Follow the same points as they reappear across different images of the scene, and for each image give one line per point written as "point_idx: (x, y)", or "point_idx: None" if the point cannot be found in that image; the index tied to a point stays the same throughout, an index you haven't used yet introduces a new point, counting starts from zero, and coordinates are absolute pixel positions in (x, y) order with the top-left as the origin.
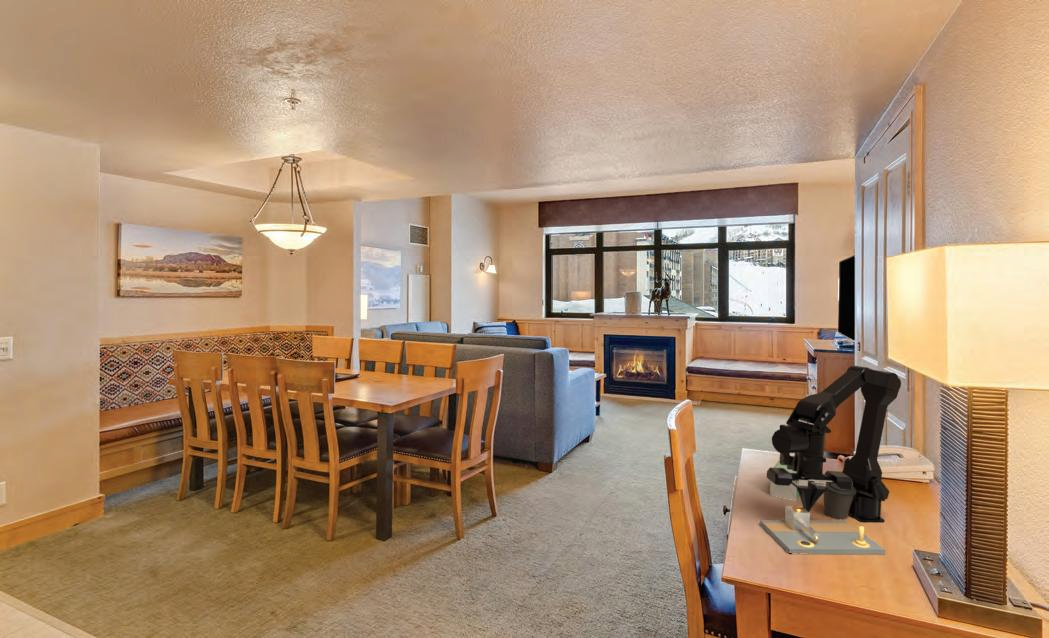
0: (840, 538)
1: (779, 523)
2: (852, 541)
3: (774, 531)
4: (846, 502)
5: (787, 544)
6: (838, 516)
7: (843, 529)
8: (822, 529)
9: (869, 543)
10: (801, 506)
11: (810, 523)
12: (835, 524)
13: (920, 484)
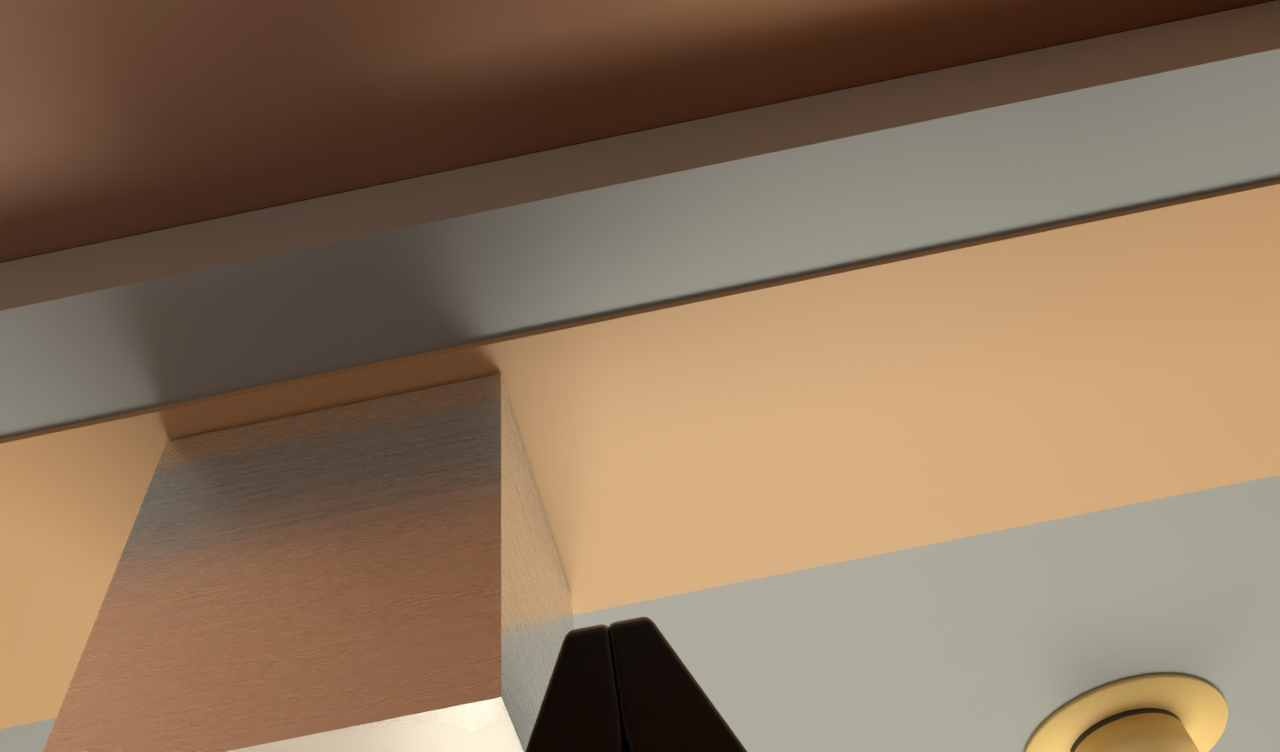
0: (952, 674)
1: (53, 461)
2: (1058, 721)
3: None
4: None
5: None
6: None
7: (1215, 427)
8: (829, 507)
9: (1253, 701)
10: (497, 719)
11: (714, 326)
12: (1227, 253)
13: None
